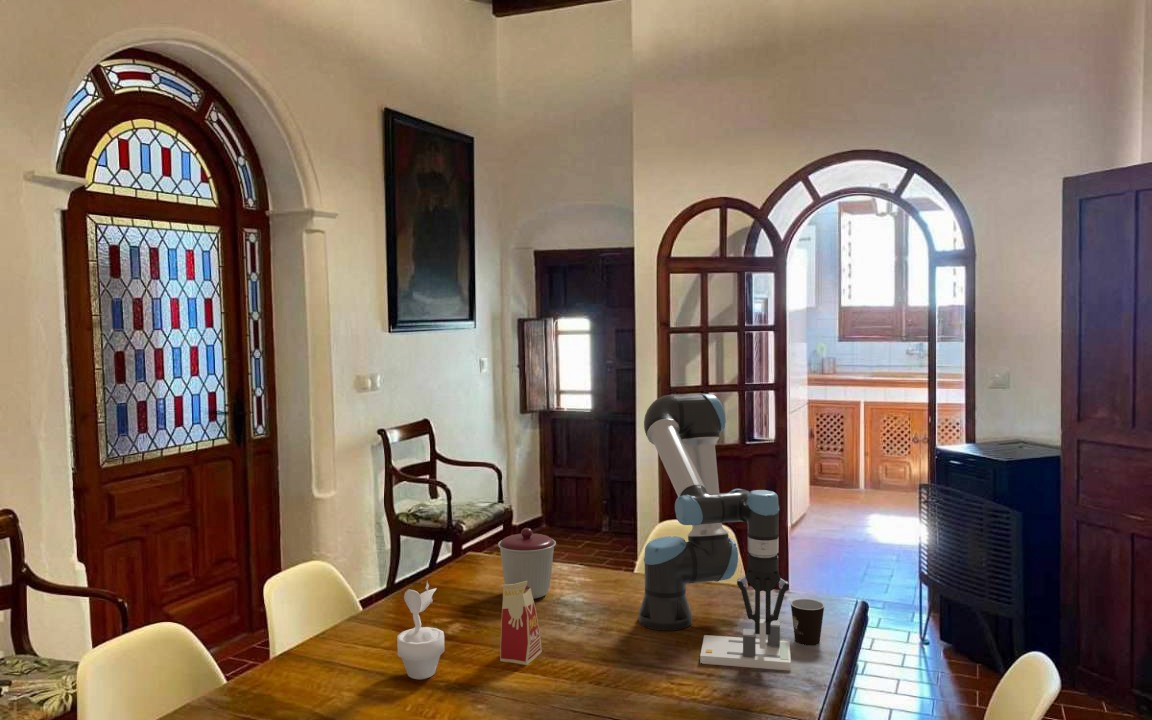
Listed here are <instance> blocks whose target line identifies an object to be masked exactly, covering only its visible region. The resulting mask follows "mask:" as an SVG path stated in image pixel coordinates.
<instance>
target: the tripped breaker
mask: <svg viewBox="0 0 1152 720" xmlns="http://www.w3.org/2000/svg"><path fill="white" fill-rule="evenodd" d="M756 635H757V634H756V633H755V628H754V629H753V628H743V630H742V638H743V656H753V657H755V653H756V639H757V638H756Z"/></svg>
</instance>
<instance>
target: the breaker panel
mask: <svg viewBox="0 0 1152 720" xmlns="http://www.w3.org/2000/svg"><path fill="white" fill-rule="evenodd" d="M699 656H700V657H699V659H700V660H699V662H700V663H699V664H701V663H702V664H703V665H704V664H705V665H715V666H716V665H717V666H728V667H731V666H732V667H741V668H752V669H753V668H755V669H766V670H767V669H768V670H780V671H792V669H791V668H792V666H791V665H792V659H791V645H790V640H781V639H780V646H771V645H768V638H767V639H766V649H760V638H756V653H755V657H753V656H743V637H738V636H737V637H736V636H726V635H725V636H723V635H708V634H704V635H703V640H702V645H701V650H700V655H699Z"/></svg>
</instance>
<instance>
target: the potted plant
mask: <svg viewBox="0 0 1152 720" xmlns="http://www.w3.org/2000/svg"><path fill="white" fill-rule="evenodd" d="M429 587H430V584H429V583H428V581H426V585H425V588H424V589H426V590H425V591H423V592H421V593H419V592H418V591H416V590H414V589H410V588H409V589H407V590H406V591H405V592H404V596H403V600H404V602H405V604H406V606H407V607H408V609H409V612H410V613H411V614H412V619H413V623H414V627H413V628H410V629H407V630H402V631H401V632H400V633H399V634H398V635H397V636H396V637H397V638H396V639H397V640H396V642H397V645H396V646H397V656H398V657H399V658H401V660H402V663H403V666H404V668H405V671H406V674H407V676H408V677H409V678H411V679H414V680H426V679H428V678H429V679H430V678H431V677H432V676H433V675H435V674H436V671H437V667H438V665H439V661H440V659H441V655H442V654H444V652H445V633H444V631H443V630H441V629H439V628H437V627H429V626H425V627H424V626H423V627H422V622H421V621H422V620H421V617H420V615H419V614H420V613H422V612H424V611H425V610H426V609H427V608H428V606H430V605H431V603H433V601H434V600H433V594H434V593H435V592H436V591H437V587H435V588H432V589H429Z"/></svg>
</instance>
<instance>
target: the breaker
mask: <svg viewBox="0 0 1152 720" xmlns="http://www.w3.org/2000/svg"><path fill="white" fill-rule="evenodd" d="M780 621H781V620H780V619H778V620H777V621H775V620H774V621H772V622H771V633H770V635H767V639H768V645H771V646H780V640H781V622H780Z"/></svg>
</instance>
